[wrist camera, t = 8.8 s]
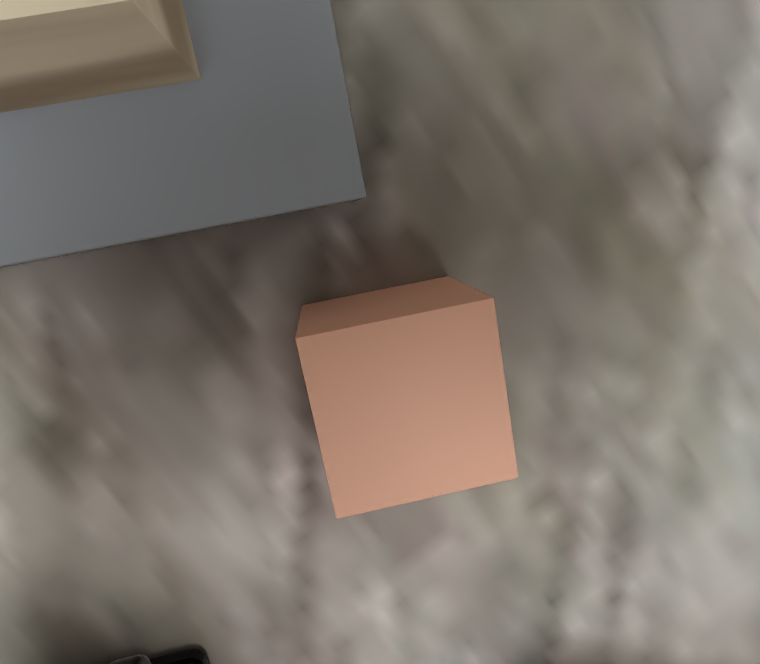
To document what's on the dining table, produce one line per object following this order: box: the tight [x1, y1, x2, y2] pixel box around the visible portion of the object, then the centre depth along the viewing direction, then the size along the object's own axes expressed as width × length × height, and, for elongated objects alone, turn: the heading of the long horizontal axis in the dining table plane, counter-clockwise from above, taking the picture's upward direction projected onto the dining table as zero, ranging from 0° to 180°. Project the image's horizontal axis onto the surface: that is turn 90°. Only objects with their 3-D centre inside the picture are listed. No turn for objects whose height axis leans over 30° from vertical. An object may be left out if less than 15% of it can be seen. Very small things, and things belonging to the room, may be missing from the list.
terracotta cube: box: [295, 276, 518, 519], centre depth 16 cm, size 5×5×5 cm
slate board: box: [0, 0, 366, 268], centre depth 14 cm, size 12×12×3 cm
